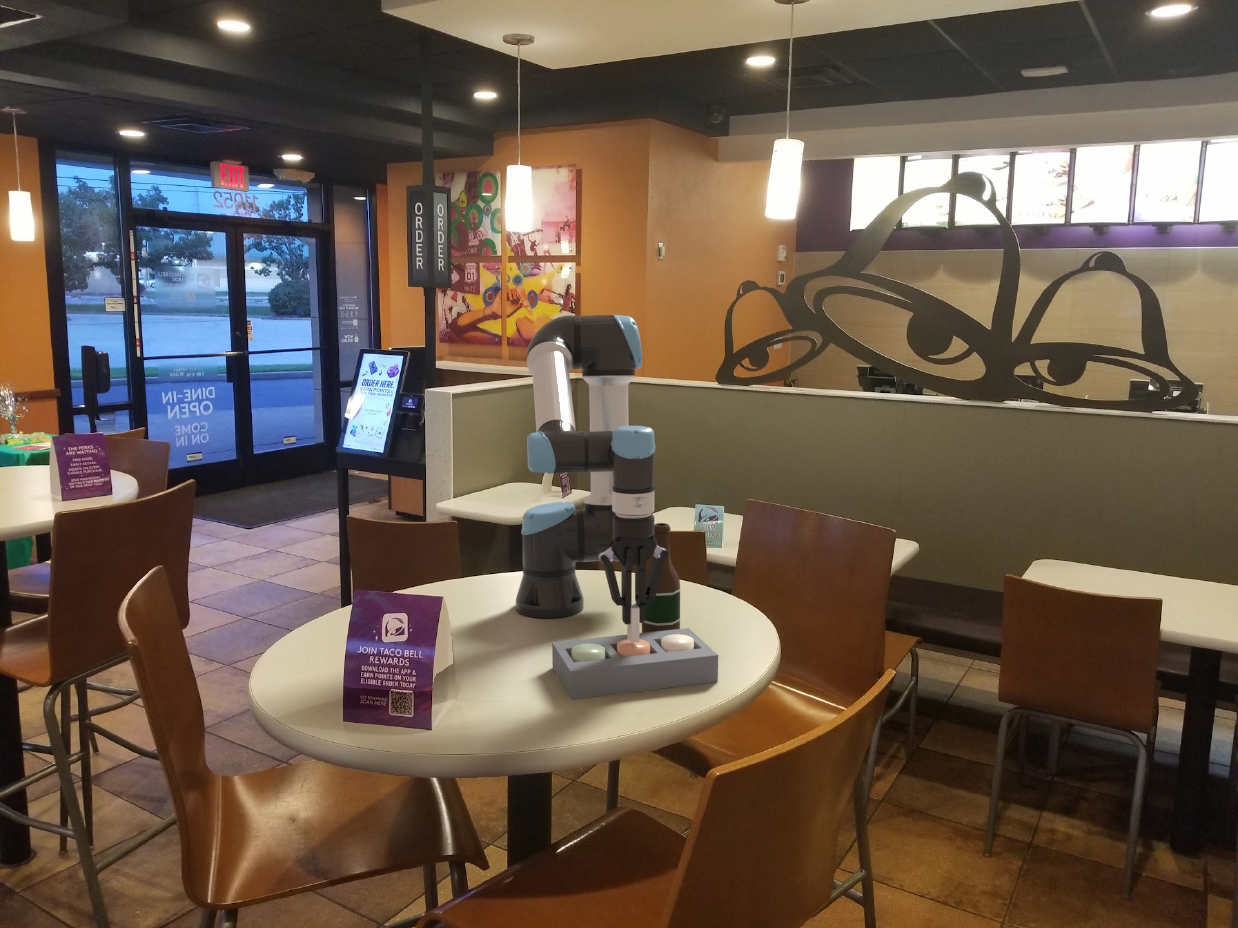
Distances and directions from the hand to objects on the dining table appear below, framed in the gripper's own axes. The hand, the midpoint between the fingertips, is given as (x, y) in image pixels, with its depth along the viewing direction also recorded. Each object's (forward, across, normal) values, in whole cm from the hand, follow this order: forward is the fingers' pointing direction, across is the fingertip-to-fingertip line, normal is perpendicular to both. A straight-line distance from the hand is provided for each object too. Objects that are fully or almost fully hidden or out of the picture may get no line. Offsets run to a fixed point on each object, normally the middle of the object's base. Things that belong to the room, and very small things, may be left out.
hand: (633, 639), depth 172 cm
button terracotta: (+5, 0, 0) cm, 5 cm away
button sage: (+5, -8, 0) cm, 10 cm away
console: (+7, 0, 0) cm, 7 cm away
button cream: (+5, +9, 0) cm, 10 cm away
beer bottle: (+7, +10, +15) cm, 20 cm away
